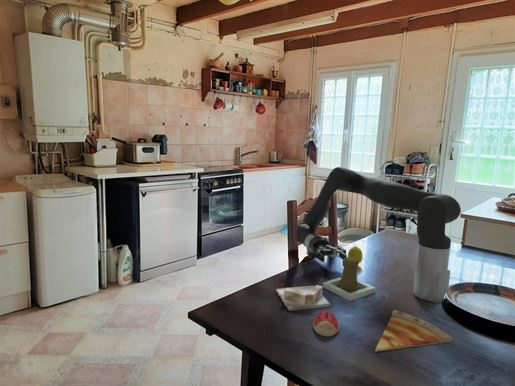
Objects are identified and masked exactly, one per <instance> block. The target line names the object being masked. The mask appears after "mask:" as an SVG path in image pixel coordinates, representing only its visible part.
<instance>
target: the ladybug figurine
mask: <svg viewBox="0 0 515 386" xmlns="http://www.w3.org/2000/svg"><path fill="white" fill-rule="evenodd" d="M312 326H313V329H314V331H315V332H316V334H318V335H320V336H322V337H332V336H334V335H335V334H337V333H338V331H339V322H338V318H336V315H334V314H333V313H332V312H331V311H329V310H323V311H321V312H319V313H318V314H317V315H316V317H315V318H314V320H313V325H312Z"/></svg>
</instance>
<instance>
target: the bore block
mask: <svg viewBox="0 0 515 386" xmlns="http://www.w3.org/2000/svg"><path fill="white" fill-rule="evenodd" d="M341 278H342V276H341V277H338V278H334V279H331V280H328V281H327V280H326V281H324V282H322V286H323V289H326V290H328V291H329V292H332V293H333V294H335V295H338V296H340V297H342V298H343V299H345V300H347V301H350V302H351V301H353V300H357V299H359V298H362V297H365V296H368V295H370V294H374V293H376V287H374V286H372V285H370V284H368V283H365V282H363V281H361V280H359V279H357V285H358V288H360V289H358V291H355V292H352V293H349V292H346V291H344V290H342V289H340V287H338V286H340V283H341Z"/></svg>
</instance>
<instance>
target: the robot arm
mask: <svg viewBox="0 0 515 386" xmlns="http://www.w3.org/2000/svg"><path fill="white" fill-rule="evenodd" d="M337 191H341V192H346V193H354V194H358V195H361V196H363V197H366V198H367V199H369V200H370V201H372V202H374V203H375V204H379V205H382V206H384V207H388V208H390V209H391V208H392V209H400V210H408V211H414V212H417V216H416V218H417V219H416V221H417V222H416V234H417V235H416V236H417V238H418V241H417V242H418V243H417V251H416V260H415V261H416V262H415V270H414V280H413V291H412V293H413V295H414V296H415V297H417V298H419V299H421V300H423V301H428V302H433V303H435V304H438V303H440V302H443V301H444V300H443V299H444V295H445V294H446V293H448V294H449V287H450V278H451V270H450V269H449V262H450V261H449V260H450V254H451V245H452V240H451V238H450V236H448V235H446V224H450V223H452V222H454V221H456V220H457V219H458V218H459V217H460V215H461V212H462V210H461V205H460V203H459V202H458V201H457V200H456V198H454V197H452V196H451V195H448V194H443V193H436V192H431V191H425V190H421V189H417V188H415V187H412V186H408V185H406V184H403V183H399V182H397V181H392V180H389V179H385V178H380V177H369V176H366V175H363V174H361V173H359V172H357V171H354V170H352V169H349V168H346V167H342V166H336V167H335V168H333V169H332V170H331V171H330V173H329V174H328V176H327V177H326V180H325V182H324V184H323V186H322V187H321V189H320V192H319V193H318V196H317V198H316V200H315V201H314V203H313V205H312V206H311V207H310V209H309V210H308V212H307V213H306V214H305V216H304V218H303V221H304V223H305V224H306V225H307V226H306V225H303V224H300V223H297V224H298V227H297V228H298V230H297V242H299V243H301V244H302V245H303V246H304V247H306V255H307V256H308V257H309V259H312V260H313V259H316V260H318V261H320V262H322V263H325V260H326V258H325V257H326V256H327V257H332V258H339V259H341V260H342V261H343V259H344V258H346V257H348V254H347V249H346V248H344V247H342V246H341V245H336V247H333V246H331V245H330V243H329V241H328V240H327V239H326V238H324V237H322V236H321V235H320V234H317V233H316V232H317V230H318V227H319V226H320V224H321V223H322V222H323V220H324V219H325V217H326V216H327V215H328V212H329V208H330V207H329V206H330V201H331V198H332V197H333V195H334V194H335V193H336V192H337ZM442 300H443V301H442Z"/></svg>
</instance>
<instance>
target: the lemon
mask: <svg viewBox="0 0 515 386" xmlns="http://www.w3.org/2000/svg"><path fill="white" fill-rule="evenodd" d="M347 257H352V258H355V259H357V260H358V263H359V264H361V263H362V260H363V252H362V249H361V248H360V247H358V246H356V245H355V246H353V247H351V248H350V249H349V251H348V253H347Z"/></svg>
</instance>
